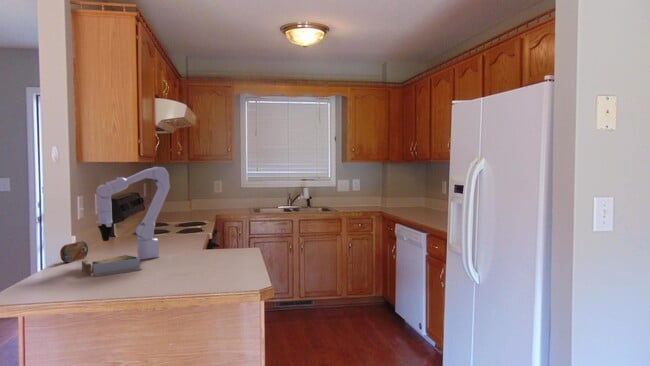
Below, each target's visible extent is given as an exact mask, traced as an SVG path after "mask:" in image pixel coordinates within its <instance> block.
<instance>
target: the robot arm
mask: <svg viewBox="0 0 650 366" xmlns="http://www.w3.org/2000/svg"><path fill="white" fill-rule="evenodd" d="M145 179H152V180H153V181H154V182H155V185H156V186H157V189H156V192H155V194H154V196H153V198H152V200H151V203H150V205H149V207H148V210H147V212H146V214H145V216H144V218H143V219H142V220H141V222H140V224H138V225H137V226H136V228H135V234H136V235H137V238H136V250H137V251H136V252H137V253H136V254H137V255H134V257H137V258H140V261H141V260H146V259H154V258H160V244H159V239H158V238H157V237H155V238H154V237H153V236H154V235H155V229H156V228H155V227H156V221H157V218H158V216H159V214H160V211H161V210H162V207H163V204H164V202H165V201H166V198H167V196H168V194H169V191H170V190H171V189H170V188H171V183H170V173H169V172H168V171H167V169H166V167H163V166H153V167H152V168H151V167H150V168H147V169H144V170H141V171H139V172H137V173H135V174H133V175H130V176H129V177H122V176H121V177H119V176H117V177H115V179H114V180H110V181H106V182H105V184H100V185H98V186H97V187H96V191H95V193H96V195H97V220H96V221H95V224H99V225H97V228H98V229H99V230H98V231H100V236H101V239H102V241H103V242H109V241H110V235H111V231H112V230H113V228H114V225H112V224H113V211H112V210H113V209H112V208H113V207H112V206H113V204H112V196H113V195H115V194H118V193H120V192H122V191H125V190H126V189H128V188H129V186H130V185H132V184H134V183H136V182H139V181H142V180H145ZM100 224H101V225H100Z"/></svg>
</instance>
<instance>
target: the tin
mask: <svg viewBox="0 0 650 366" xmlns="http://www.w3.org/2000/svg"><path fill="white" fill-rule="evenodd" d="M88 253H89V247H88V244H87V243H86V242H85V241H83V240H82V241H76V242H70V243H67V244H64V245H63V246H62V247H61V249H60V251H59V254H60V260H61V261H62V262H64V263H74V262H77V261H80V260H85V258H86V257H87V255H88Z"/></svg>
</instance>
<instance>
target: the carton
mask: <svg viewBox="0 0 650 366" xmlns="http://www.w3.org/2000/svg"><path fill="white" fill-rule="evenodd" d="M129 259H137V257H135V255H128V254H127V255H126V254H125V255H124V254H123V255H119V256H115V257H108V258H104V259H99V260H94V261H92V264H91V271H93V264H98V263H106V262H113V261H121V260H129Z"/></svg>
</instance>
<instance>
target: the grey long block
mask: <svg viewBox="0 0 650 366" xmlns="http://www.w3.org/2000/svg"><path fill="white" fill-rule="evenodd" d="M142 270H143V269H142V267H141V260H140V258H137V259H129V260H121V261H113V262H106V263H98V264H93V270H92V271H93V276H94V277H102V276H109V275H116V274H121V273H129V272H135V271H136V272H139V271H142Z"/></svg>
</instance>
